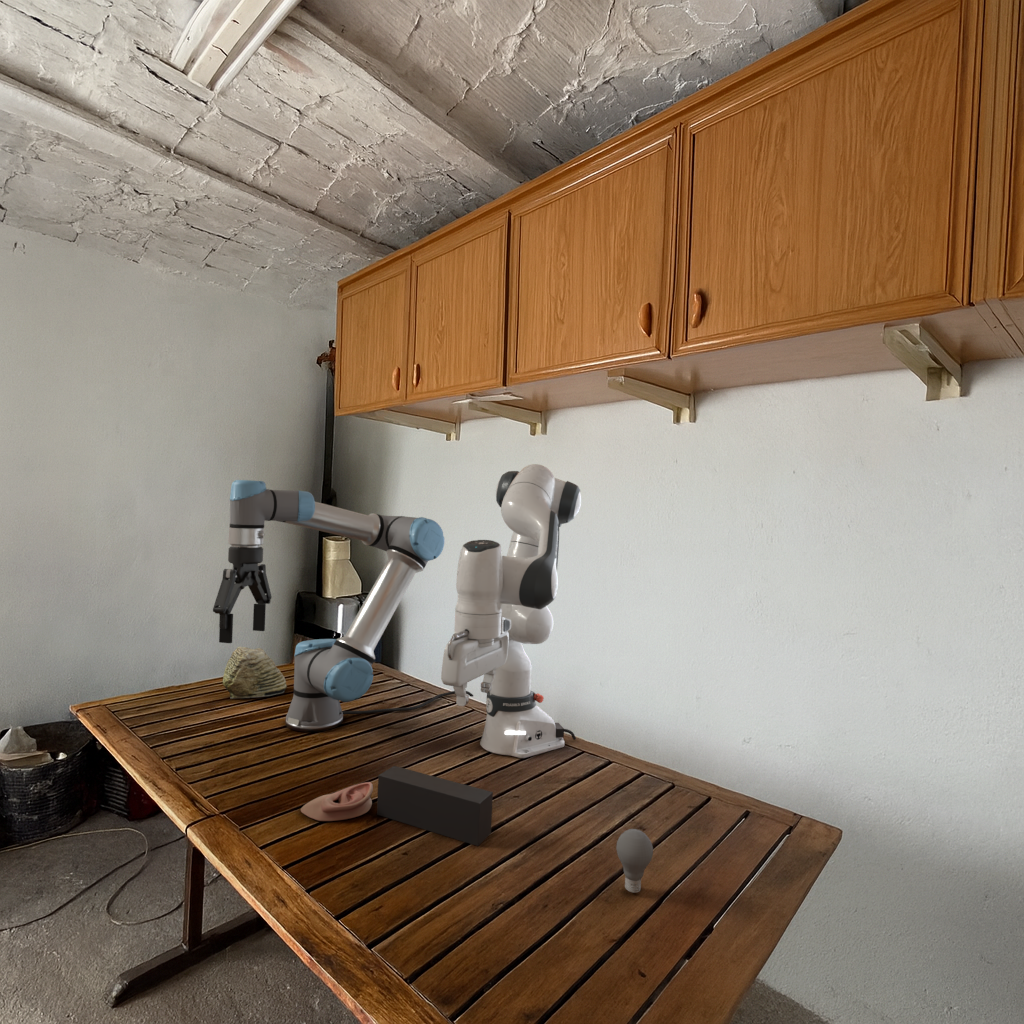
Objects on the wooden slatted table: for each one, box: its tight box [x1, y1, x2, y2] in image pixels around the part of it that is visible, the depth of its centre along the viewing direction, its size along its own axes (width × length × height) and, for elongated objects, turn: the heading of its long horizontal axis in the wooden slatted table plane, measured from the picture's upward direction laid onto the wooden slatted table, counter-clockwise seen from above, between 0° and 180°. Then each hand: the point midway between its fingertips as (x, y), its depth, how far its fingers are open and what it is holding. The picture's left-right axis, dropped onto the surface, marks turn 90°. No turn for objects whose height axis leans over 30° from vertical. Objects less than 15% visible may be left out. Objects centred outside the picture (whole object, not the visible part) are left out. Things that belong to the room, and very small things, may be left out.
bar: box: [376, 765, 494, 847], centre depth 125 cm, size 23×5×8 cm, turn 65°
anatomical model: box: [300, 781, 374, 822], centre depth 129 cm, size 13×4×12 cm
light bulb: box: [615, 828, 654, 894], centre depth 106 cm, size 6×6×10 cm
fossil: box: [222, 646, 288, 699], centre depth 198 cm, size 9×18×15 cm, turn 132°
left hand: (242, 636), depth 148 cm, fingers open, 13 cm apart
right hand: (474, 698), depth 121 cm, fingers open, 8 cm apart
